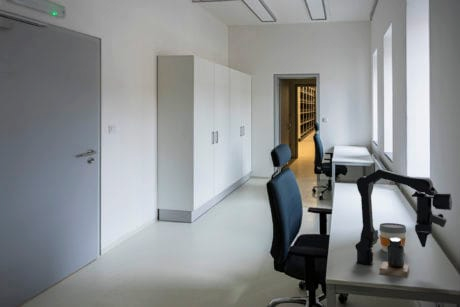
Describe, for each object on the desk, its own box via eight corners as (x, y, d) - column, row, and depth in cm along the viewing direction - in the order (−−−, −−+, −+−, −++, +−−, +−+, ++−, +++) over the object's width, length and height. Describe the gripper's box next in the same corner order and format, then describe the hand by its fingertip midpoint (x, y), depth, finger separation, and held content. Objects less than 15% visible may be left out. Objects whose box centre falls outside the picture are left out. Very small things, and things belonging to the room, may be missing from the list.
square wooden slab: (379, 274, 177) (379, 268, 177) (382, 268, 187) (382, 261, 187) (407, 278, 172) (407, 271, 172) (409, 271, 182) (409, 264, 182)
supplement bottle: (398, 261, 183) (397, 235, 181) (407, 267, 176) (407, 240, 175) (384, 263, 182) (383, 237, 180) (393, 269, 175) (393, 243, 173)
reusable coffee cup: (410, 258, 200) (410, 227, 199) (384, 258, 200) (384, 227, 199) (400, 251, 212) (400, 222, 212) (375, 251, 212) (375, 222, 212)
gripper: (445, 212, 162) (445, 251, 162) (445, 206, 178) (444, 241, 179) (415, 210, 167) (414, 248, 167) (417, 204, 183) (416, 239, 184)
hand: (423, 244), depth 174 cm, fingers open, 9 cm apart
